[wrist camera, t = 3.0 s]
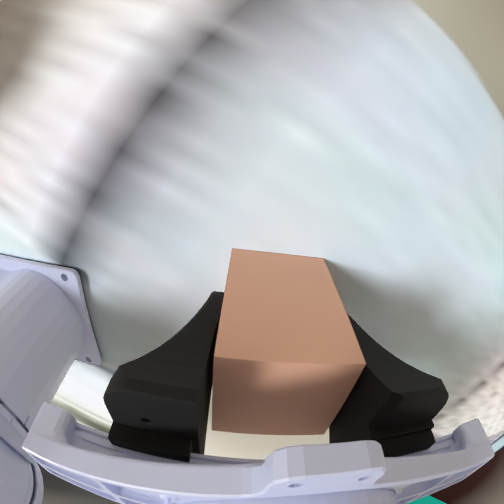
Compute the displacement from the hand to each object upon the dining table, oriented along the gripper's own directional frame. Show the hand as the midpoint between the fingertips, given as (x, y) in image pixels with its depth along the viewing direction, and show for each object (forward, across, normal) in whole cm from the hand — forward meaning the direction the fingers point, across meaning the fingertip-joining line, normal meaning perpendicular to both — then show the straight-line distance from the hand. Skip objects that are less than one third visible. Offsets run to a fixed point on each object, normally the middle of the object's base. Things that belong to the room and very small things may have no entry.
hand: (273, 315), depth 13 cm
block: (+2, 0, 0) cm, 2 cm away
